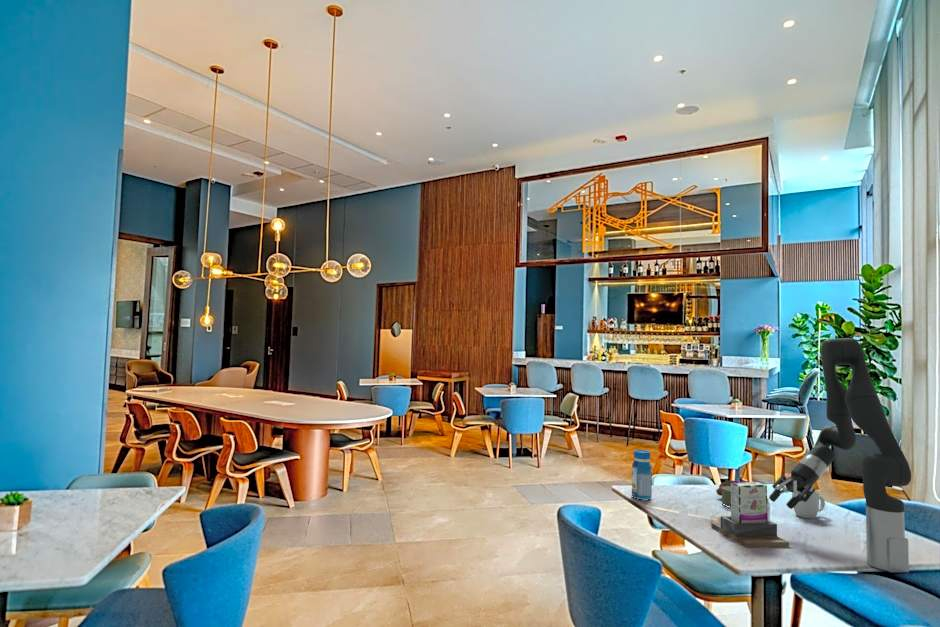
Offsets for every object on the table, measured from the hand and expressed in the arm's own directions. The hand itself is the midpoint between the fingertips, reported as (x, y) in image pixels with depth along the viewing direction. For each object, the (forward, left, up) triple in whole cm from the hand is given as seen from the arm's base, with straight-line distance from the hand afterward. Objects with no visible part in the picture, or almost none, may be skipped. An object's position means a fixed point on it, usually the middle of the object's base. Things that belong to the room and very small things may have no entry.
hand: (779, 503), depth 186 cm
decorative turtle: (+47, -14, -11) cm, 51 cm away
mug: (+22, -30, -11) cm, 39 cm away
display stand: (0, +12, -11) cm, 16 cm away
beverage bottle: (+48, +28, -11) cm, 57 cm away
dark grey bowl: (+37, -9, -11) cm, 39 cm away
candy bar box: (0, +12, -10) cm, 15 cm away
